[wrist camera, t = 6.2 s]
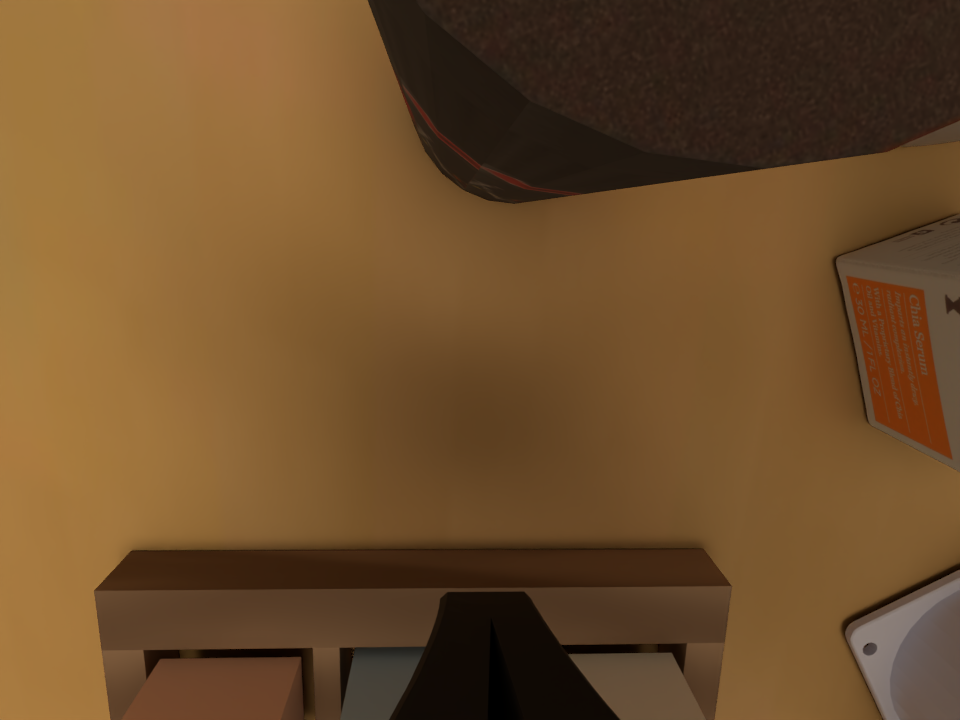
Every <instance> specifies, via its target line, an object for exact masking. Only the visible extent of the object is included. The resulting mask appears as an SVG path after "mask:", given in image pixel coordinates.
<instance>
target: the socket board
mask: <svg viewBox="0 0 960 720" xmlns="http://www.w3.org/2000/svg"><path fill="white" fill-rule="evenodd" d="M731 589H732V586H731V584H730V583H729V582H728V581H727V579H726V578H725V577H724V575H723V574H722V573H721V571H720V570H719V569H718V567H717V566H716V565H715V564H714V562H713V561H712V560H711V558H710V557H709V556H708V554H707V553H706V552H705V550H704V549H565V550H296V551H131V552H130V553H129V554H128V555H127V556H126V557H125V558H124V559H123V560H122V561H121V563H120V564H119V565H118V566H117V567H116V568H115V569H114V570H113V571H112V572H111V573H110V574H109V575H108V576H107V578H106V579H105V580H104V581H103V582H102V583H101V584H100V585H99V586H98V587H97V588H96V589H95V590H94V594H95V601H96V609H97V617H98V625H99V633H100V640H101V648H102V656H103V664H104V672H105V680H106V687H107V695H108V703H109V711H110V719H111V720H121V719H122V718H123V716H124V715H125V713H126V711H127V710H128V708H129V707H130V705H131V704H132V702H133V700H134V699H135V697H136V696H137V694H138V693H139V691H140V690H141V688H142V686H143V685H144V683H145V682H146V680H147V679H148V677H149V676H150V674H151V672H152V671H153V669H154V668H155V666H156V665H157V663H158V662H159V660H160V659H179V650H187V649H267V648H313V669H314V694H315V719H316V720H340V718H341V713H342V708H343V703H344V699H345V694H346V689H347V684H348V680H349V675H350V670H351V665H352V661H351V647H426V645H427V642H428V640H429V637H430V635H431V632H432V629H433V626H434V623H435V620H436V617H437V613H438V609H439V604H440V598H441V597H442V596H444V595H445V594H446V593H447V592H510V591H524V592H525V593H526V594H527V595H528V596H529V597H530V598H531V599H532V601H533V603H534V605H535V606H536V608H537V609H538V611H539V613H540V614H541V616H542V617H543V619H544V621H545V622H546V624H547V625H548V627H549V628H550V630H551V631H552V632H553V634H554V635H555V637H556V638H557V640H558V641H559V643H560V644H561V645H591V644H659V650H658V653H672V654H673V656H674V658H675V660H676V662H677V664H678V666H679V668H680V670H681V672H682V674H683V676H684V678H685V680H686V682H687V684H688V686H689V688H690V690H691V691H692V693H693V695H694V697H695V699H696V701H697V703H698V705H699V707H700V709H701V711H702V713H703V715H704V717H705V719H706V720H714V719H715V711H716V703H717V696H718V688H719V681H720V673H721V665H722V658H723V650H724V642H725V635H726V627H727V620H728V612H729V604H730V597H731Z"/></svg>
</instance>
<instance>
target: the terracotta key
mask: <svg viewBox="0 0 960 720" xmlns="http://www.w3.org/2000/svg"><path fill="white" fill-rule="evenodd" d="M121 720H304V708H303V686H302V663H301V657H258V658H182V659H160V660H159V662H158V663H157V665H156V666H155V668H154V669H153V671H152V672H151V674H150V676H149V677H148V679H147V680H146V682H145V683H144V685H143V686H142V688H141V690H140V691H139V693H138V694H137V696H136V697H135V699H134V700H133V702H132V704H131V705H130V707H129V708H128V710H127V711H126V713H125V715H124V716H123V718H122V719H121Z"/></svg>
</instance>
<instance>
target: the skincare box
mask: <svg viewBox="0 0 960 720" xmlns="http://www.w3.org/2000/svg"><path fill="white" fill-rule="evenodd" d="M836 266H837V269H838V273H839V277H840V280H841V283H842V288H843V293H844V298H845V304H846V309H847V313H848V317H849V322H850V326H851V331H852V335H853V340H854V345H855V349H856V354H857V360H858V367H859V372H860V378H861V383H862V389H863V394H864V400H865V405H866V410H867V417H868V421H869V423H870V425H872V426H873V427H875V428H877V429H879V430H881V431H883V432H885V433H887V434H888V435H890V436H892V437H894V438H896V439H898V440H900V441H902V442H904V443H906V444H908V445H909V446H911V447H913V448H915V449H917V450H919V451H921V452H923V453H925V454H927V455H929V456H930V457H932V458H934V459H936V460H938V461H940V462H942V463H944V464H946V465H948V466H950V467H952V468H953V469H955V470H957V471H959V472H960V214H958V215H955V216H952V217H950V218H947V219H944V220H941V221H938V222H936V223H933V224H930V225H927V226H924V227H921V228H918V229H915V230H913V231H910V232H907V233H904V234H902V235H899V236H896V237H893V238H891V239H888V240H885V241H882V242H879V243H876V244H873V245H870V246H868V247H865V248H862V249H859V250H856V251H853V252H850V253H847V254H844V255H841V256H839V257H838V258H837V259H836Z"/></svg>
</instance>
